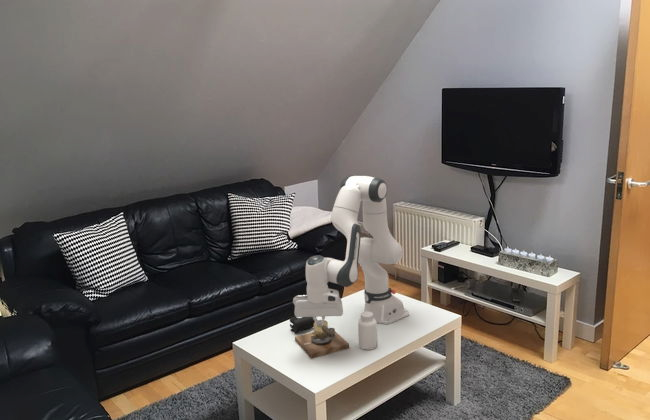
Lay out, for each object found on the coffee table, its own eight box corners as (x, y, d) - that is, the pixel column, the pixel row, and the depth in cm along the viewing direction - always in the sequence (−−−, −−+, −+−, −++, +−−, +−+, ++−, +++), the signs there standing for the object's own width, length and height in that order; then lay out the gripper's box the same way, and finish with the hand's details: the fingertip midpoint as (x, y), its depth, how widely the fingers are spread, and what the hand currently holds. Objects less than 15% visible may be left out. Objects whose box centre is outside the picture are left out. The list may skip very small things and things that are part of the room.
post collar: (326, 333, 252) (326, 329, 252) (335, 342, 244) (335, 337, 244) (308, 338, 249) (307, 334, 248) (316, 347, 241) (316, 342, 240)
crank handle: (308, 335, 247) (307, 318, 245) (328, 330, 250) (327, 313, 248) (323, 350, 233) (322, 332, 231) (344, 345, 237) (343, 327, 235)
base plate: (331, 331, 259) (331, 327, 258) (349, 348, 243) (349, 343, 242) (295, 340, 251) (294, 336, 251) (311, 358, 235) (310, 353, 235)
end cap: (297, 336, 256) (296, 322, 254) (289, 330, 262) (288, 317, 260) (315, 330, 261) (315, 316, 259) (307, 324, 267) (307, 311, 265)
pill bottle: (358, 350, 241) (357, 317, 237) (359, 341, 248) (358, 309, 245) (376, 350, 240) (375, 318, 236) (377, 341, 247) (376, 310, 244)
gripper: (291, 298, 230) (294, 329, 234) (341, 297, 229) (343, 328, 233) (293, 292, 236) (295, 322, 240) (342, 290, 235) (343, 321, 239)
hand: (319, 325), depth 236 cm, fingers closed
